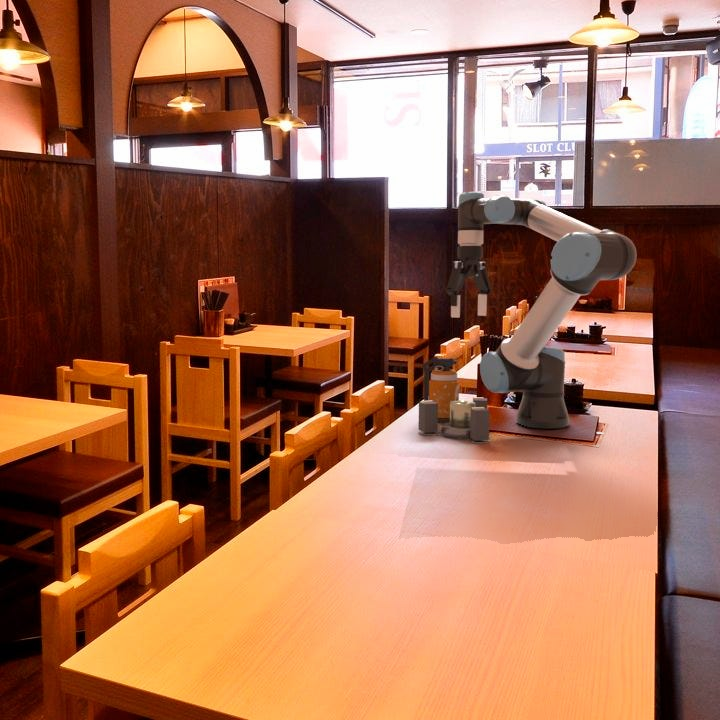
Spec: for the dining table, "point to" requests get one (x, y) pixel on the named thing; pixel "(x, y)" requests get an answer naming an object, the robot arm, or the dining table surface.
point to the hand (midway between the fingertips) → (469, 316)
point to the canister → (441, 385)
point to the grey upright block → (428, 416)
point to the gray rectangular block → (479, 423)
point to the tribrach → (458, 422)
